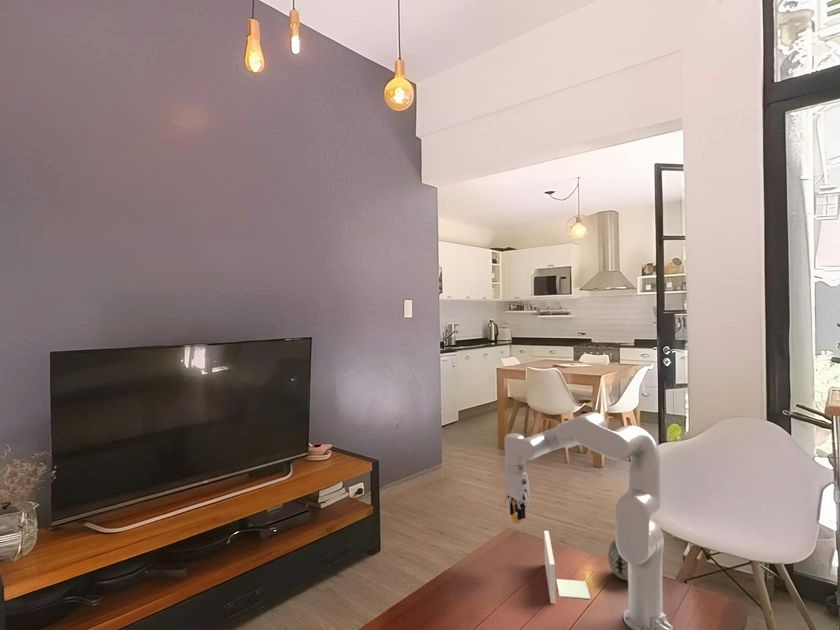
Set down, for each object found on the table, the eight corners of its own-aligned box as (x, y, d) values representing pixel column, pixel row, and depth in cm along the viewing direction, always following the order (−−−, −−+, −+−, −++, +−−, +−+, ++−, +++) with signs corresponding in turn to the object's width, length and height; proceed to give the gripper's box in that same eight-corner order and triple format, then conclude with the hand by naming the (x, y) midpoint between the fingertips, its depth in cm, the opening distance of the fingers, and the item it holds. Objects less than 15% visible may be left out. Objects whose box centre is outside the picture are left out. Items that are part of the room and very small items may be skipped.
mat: (590, 599, 158) (590, 598, 158) (559, 596, 160) (559, 595, 160) (585, 582, 168) (585, 581, 168) (556, 580, 170) (556, 579, 170)
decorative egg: (648, 577, 170) (648, 536, 170) (637, 592, 162) (636, 548, 162) (615, 566, 178) (615, 526, 178) (603, 579, 170) (602, 537, 170)
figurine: (506, 526, 176) (505, 493, 176) (504, 518, 182) (503, 487, 182) (529, 525, 176) (528, 493, 175) (526, 518, 182) (525, 487, 181)
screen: (555, 603, 157) (554, 564, 156) (550, 603, 157) (549, 564, 157) (549, 565, 180) (548, 530, 180) (544, 564, 181) (544, 530, 180)
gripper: (538, 472, 172) (540, 522, 172) (510, 460, 187) (512, 506, 187) (521, 475, 169) (523, 527, 169) (494, 463, 184) (496, 510, 184)
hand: (517, 516), depth 178 cm, fingers closed on figurine, 3 cm apart
